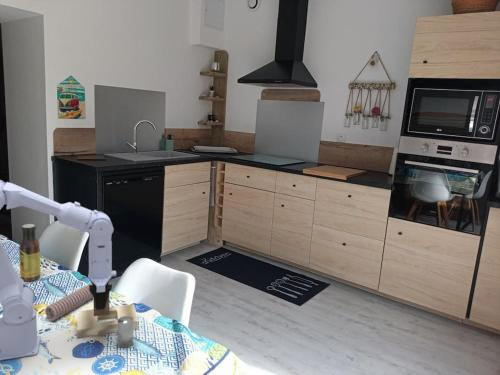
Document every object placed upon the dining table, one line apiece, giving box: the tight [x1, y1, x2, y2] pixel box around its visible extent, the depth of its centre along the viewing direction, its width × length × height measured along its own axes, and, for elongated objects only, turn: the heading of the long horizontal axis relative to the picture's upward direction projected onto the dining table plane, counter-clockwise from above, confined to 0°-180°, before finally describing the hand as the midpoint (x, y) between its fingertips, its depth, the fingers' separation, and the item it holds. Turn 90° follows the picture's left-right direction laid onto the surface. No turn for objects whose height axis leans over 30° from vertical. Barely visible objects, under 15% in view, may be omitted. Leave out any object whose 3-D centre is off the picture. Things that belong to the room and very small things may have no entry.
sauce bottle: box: [18, 223, 41, 282], centre depth 132 cm, size 6×6×20 cm
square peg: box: [92, 283, 110, 316], centre depth 104 cm, size 4×4×7 cm
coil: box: [44, 283, 93, 322], centre depth 118 cm, size 5×5×18 cm
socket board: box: [76, 303, 139, 339], centre depth 110 cm, size 16×10×2 cm, turn 113°
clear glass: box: [116, 316, 134, 349], centre depth 102 cm, size 4×4×7 cm
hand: (100, 304), depth 104 cm, fingers closed on square peg, 4 cm apart
